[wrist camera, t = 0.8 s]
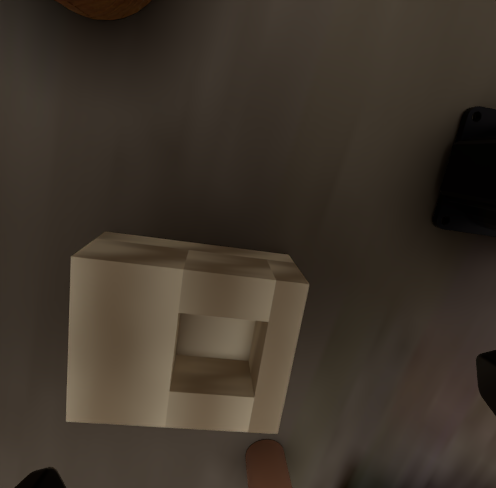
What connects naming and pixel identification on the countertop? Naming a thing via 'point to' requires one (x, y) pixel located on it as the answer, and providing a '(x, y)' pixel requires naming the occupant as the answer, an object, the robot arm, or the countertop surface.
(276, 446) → the dowel
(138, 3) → the disposable coffee cup
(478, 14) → the countertop surface
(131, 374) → the block
